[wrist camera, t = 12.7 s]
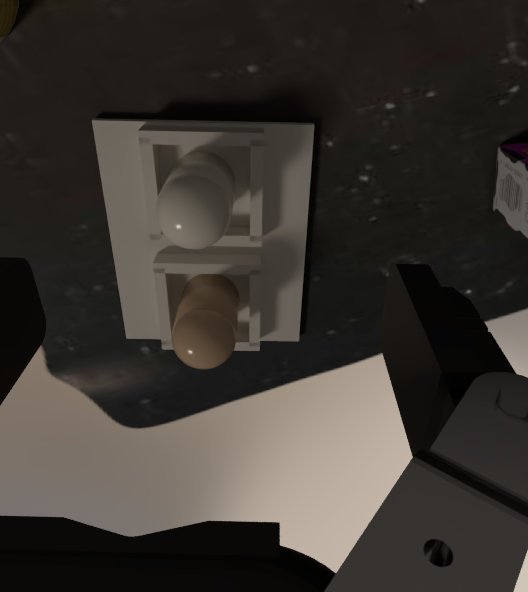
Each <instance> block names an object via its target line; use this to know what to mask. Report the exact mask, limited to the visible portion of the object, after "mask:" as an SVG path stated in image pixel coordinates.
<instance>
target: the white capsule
mask: <svg viewBox="0 0 528 592" xmlns="http://www.w3.org/2000/svg"><path fill="white" fill-rule="evenodd" d="M235 191H236V179H235V175H234V173H233V171H232V169H231V167H230V166H229V164H228V163H227V162H226V161H225V160H224V159H222V158H221V157H220V156H218V155H216V154H213V153H210V152H205V151H197V152H192V153H189V154H187V155H185V156H184V157H182V158H181V159H180V160H179V161H178V162H177V163H176V165H175V166H174V168H173V170H172V171H171V173H170V175H169V177H168V179H167V180H166V182H165V184H164V186H163V187H162V189H161V191H160V193H159V195H158V198H157V201H156V207H155V214H156V220H157V223H158V225H159V228H160V230H161V231H162V233H163V234H164V235H165V236H166V237H167V238H168V239H169V240H170V241H171V242H172V243H174V244H176V245H178V246H180V247H183V248H187V249H203V248H206V247H209V246H211V245H213V244H214V243H216V242H217V241H219V240H220V239H221V238H222V237H223V235H224V234H225V233H226V231H227V229H228V227H229V224H230V221H231V216H232V209H233V203H234V197H235Z"/></svg>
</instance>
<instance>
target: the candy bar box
mask: <svg viewBox="0 0 528 592" xmlns="http://www.w3.org/2000/svg"><path fill="white" fill-rule="evenodd" d="M493 212H495V213H496V214H497V215H498V216H499V217H500V218H501V219H502V220H503V221H504V222H505V223H507V224H508V225H509V226H510V227H511V228H512V229H513V230H514V231H515V232H517V233H518V234H519V235H520V236H521V237H522V238H523V239H524V240H525V241H527V242H528V141H527V142H521V143H515V144H510V145H504V146H499V147H498V151H497V162H496V179H495V189H494V195H493Z"/></svg>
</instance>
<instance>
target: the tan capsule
mask: <svg viewBox="0 0 528 592" xmlns="http://www.w3.org/2000/svg"><path fill="white" fill-rule="evenodd" d="M239 301H240V297H239V292H238V289H237V288H236V286H235V285H234V283H233V282H232V281H230V280H229V279H228V278H226V277H224V276H222V275H219V274H200V275H197V276H195V277H193V278H192V279H191V280H189V281H188V282H187V284H186V285H185V287H184V290H183V293H182V297H181V300H180V304H179V308H178V311H177V315H176V318H175V322H174V326H173V329H172V345H173V348H174V351H175V353H176V354H177V356H178V357H179V358H180V359H181V360H182V361H183V362H184V363H185V364H187V365H189V366H191V367H193V368H197V369H211V368H214V367H217V366H219V365H221V364H222V363H224V362H225V361H226V360H227V359H228V358H229V357H230V355H231V354H232V352H233V350H234V348H235V345H236V339H237V326H238V313H239Z"/></svg>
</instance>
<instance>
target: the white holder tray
mask: <svg viewBox="0 0 528 592" xmlns="http://www.w3.org/2000/svg"><path fill="white" fill-rule="evenodd" d="M92 124H93V130H94V136H95V143H96V149H97V155H98V161H99V168H100V174H101V180H102V187H103V193H104V199H105V205H106V212H107V218H108V224H109V231H110V237H111V243H112V250H113V256H114V262H115V268H116V275H117V281H118V287H119V294H120V300H121V306H122V312H123V319H124V325H125V331H126V338H127V339H161V341H162V349H173V350H174V348H173V345H172V329H173V326H174V322H175V318H176V315H177V311H178V308H179V304H180V300H181V297H182V293H183V290H184V287H185V285H186V284H187V282H188V281H189V280H191V279H192V278H193V277H195V276H197V275H200V274H219V275H222V276H224V277H226V278H228V279H229V280H230V281H232V282H233V283H234V285H235V286H236V288H237V289H238V292H239V297H240V301H239V313H238V326H237V339H236V345H235V348H234V350H238V351H260V341H299V332H300V318H301V304H302V290H303V276H304V263H305V249H306V235H307V221H308V207H309V193H310V179H311V166H312V152H313V138H314V123H291V122H243V121H196V120H148V119H100V118H95V119H93V120H92ZM197 151H205V152H210V153H213V154H216V155H218V156H220V157H221V158H222V159H224V160H225V161H226V162H227V163H228V164H229V166H230V167H231V169H232V171H233V173H234V175H235V179H236V191H235V197H234V203H233V209H232V216H231V221H230V224H229V227H228V229H227V231H226V233H225V234H224V235H223V237H222V238H221V239H220V240H219V241H217V242H216V243H214V244H213V245H211V246H209V247H206V248H203V249H187V248H183V247H180V246H178V245H176V244H174V243H172V242H171V241H170V240H169V239H168V238H167V237H166V236H165V235H164V234H163V233H162V231H161V230H160V228H159V225H158V223H157V220H156V214H155V207H156V201H157V198H158V195H159V193H160V191H161V189H162V187H163V186H164V184H165V182H166V180H167V179H168V177H169V175H170V173H171V171H172V170H173V168H174V166H175V165H176V163H177V162H178V161H179V160H180V159H181V158H182V157H184V156H185V155H187V154H189V153H192V152H197Z"/></svg>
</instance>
